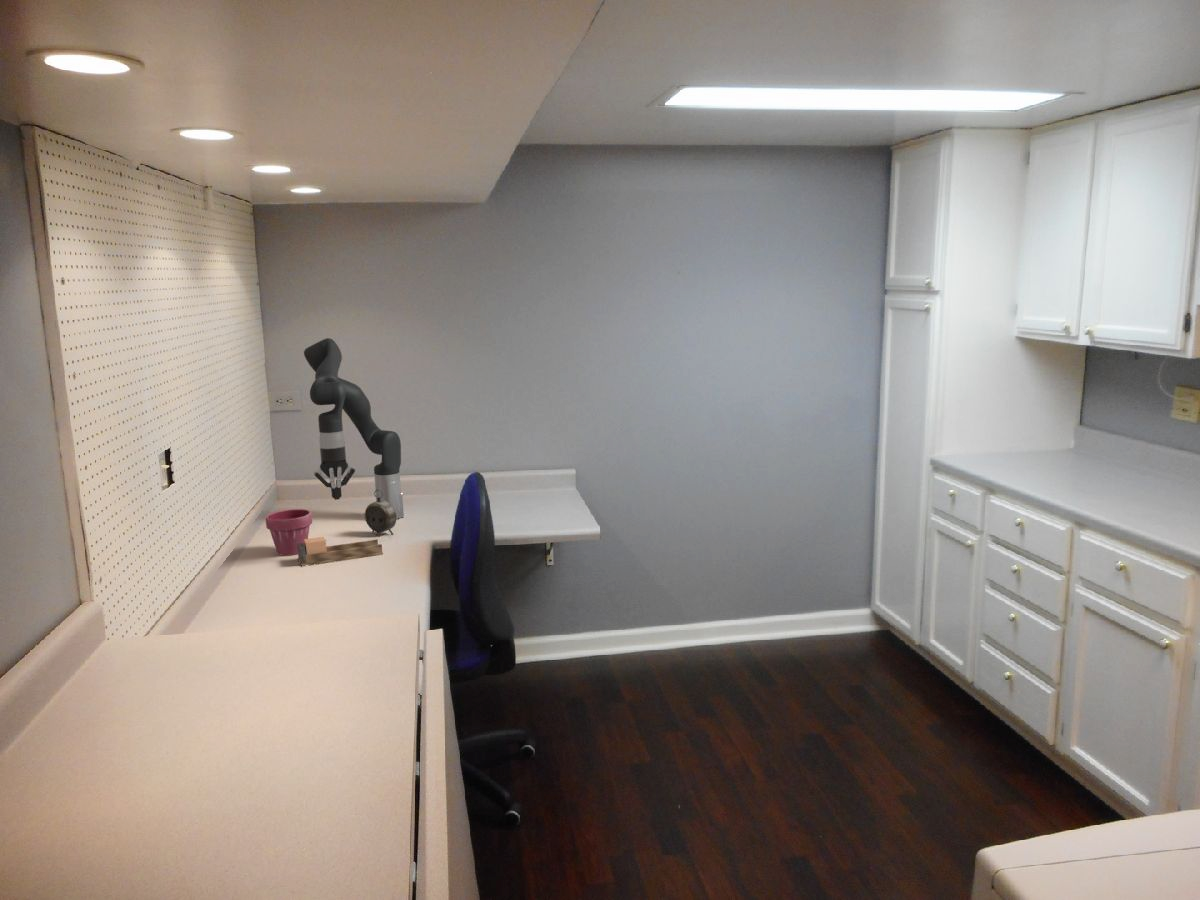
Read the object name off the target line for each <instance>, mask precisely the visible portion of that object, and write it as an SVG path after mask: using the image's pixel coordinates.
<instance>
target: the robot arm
mask: <svg viewBox="0 0 1200 900" xmlns="http://www.w3.org/2000/svg"><path fill="white" fill-rule="evenodd" d="M303 356H304V358H305V360H306V361H307V363H308V365H309V366H310V367H311V369H312V370H313V371H314V373H315V375H314V376H315V377H314V379H315V380H314V381H313V382H312V385H311V387H310V390H309V397H310V400H311V402H312V403H313V404H314V405H317V406H328V405H329V406H331V405H334V407H333V408H332V409H331V410H329V411H324V412H322V413H320V414H319V415H318V419H317V420H318V429H319V431H318V432H319V440H318V441H319V452H320V465H319V469H318V470H316V471H314V472H313V475H314V476H315V478H316V479H318V480H319V481H320V482H321V483H322V485H324V486H325V488H330V490H331V491H330V492H331V497H332V499H334V500H335V501H336V500H340V499H341V498H342V487H343V486H347V484H348V482H350V480H351V478H352V476H353V475H354V474H355V472H356V469H354V468H355V467H351V466H349V463H348V462H347V458H346V457H347V453H346V445H345V444H346V441H345V435H344V431H343V411H344V412H345V414H346V415H347V416H348V418H349V419H350V421H351V422H352V424H354V426H355V428H356V429H357V431H358V433H359V434H360V436H361V438H362V440H363V441H364V444H365V445H366V447H367V448H368V449H369V451H370V452H371V453H373V454H375V455H381V462H380V463H379V464H376V465H375V466H374V467H373V471H374V473H373V474H374V475H373V476H374V487H375V488H374V489H375V491H376V490H377V489H379V490H381V491H382V493H381V491H379V490H377V491H376V492H375V495H376V497H377V498H378V497H380V500H385V501H387V502H389V503H390V504H391V505H392V506H393V508H394V510H395V512H396V520H399V519H401V517H403V518H404V517H405V513H404V498H403V492H402V491H401V490H402V487H401V475H400V474H401V473H400V468H401V465H402V444H401V438H400V436H399V434H398V433H397V432H396V431H392V430H385V429H384V430H383V429H381V428H380V427H379V426H377V424H376V423H375V421H374V419H373V418H372V411H371V409H372V408H371V404H370V400H369V398H368V397H367V395H366V394H365V393H364V391H363V390H362V388H361V387H360V386H358V385H357V384H355V383H353V382H350V381H348V380H346V379H343V378H341V377H339V376H338V375H339V374H338V373H339V369H340V367H341V363H342V360H343V356H342V352H341V349H340V347H339V346H338V344H337V342H335V340H334V339H332V338H330V337H329V338H323V339H322V340H320V341H318V342H317V341H316V343H314V344H311V345H310V346H308V347H306V348H305V349H303ZM345 472H346V474H345V475H344V473H345ZM323 473H324V474H325V476H326V477H328V479H329V482H328V481H327V480H326V479H325V478H324V477H323ZM343 475H344V477H342V476H343ZM342 478H343V479H342ZM382 494H383V495H382ZM381 496H382V497H381ZM376 497H375V502H376V501H378V499H377V498H376ZM398 518H399V519H398Z"/></svg>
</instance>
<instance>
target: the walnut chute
mask: <svg viewBox="0 0 1200 900" xmlns="http://www.w3.org/2000/svg"><path fill="white" fill-rule="evenodd" d="M382 545H383V544H379V541H378V539H372V540H371V539H370V540H365V541H363V540H362V541H356V542H350V543H349V542H348V543H341V544H335V545H329V546H328V545H326V549H327V552H323V553H316V554H310V555H306V552H305V547H304V545H303V543H302V542H301V543H297V546H298V554H297V555H298V557H297V558H298V559H297V560H298V561H299V563H300V565H302V566H303V567H307V566H306V565H309V566H315V565H314V564H316V565H320V563H323V564H329V563H334V562H335V561H336V562H342V560H343V561H347V560H348V561H349V560H355V558H356V559H361V558H362V559H363V558H367V557H375V556H382V555H383V554H384V552H383V546H382ZM302 566H301V567H302Z"/></svg>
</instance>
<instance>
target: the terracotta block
mask: <svg viewBox="0 0 1200 900" xmlns="http://www.w3.org/2000/svg"><path fill="white" fill-rule="evenodd" d="M304 547H305V552H306V555H310V554H316V553H323V552H327V549H326V547H327V541H326V539H325V537H324V536H318V537H311V538H308V539H304Z"/></svg>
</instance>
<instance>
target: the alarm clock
mask: <svg viewBox="0 0 1200 900" xmlns="http://www.w3.org/2000/svg"><path fill="white" fill-rule="evenodd" d="M377 490H379V489H377ZM377 490H375V491H374V492H373V495H374V497H375V499H376V498H377V497H376V491H377ZM379 491H381V490H379ZM381 493H382V491H381ZM382 495H383V494H382ZM381 497H382V496H381ZM377 499H378V501H376V500H375V501H373V502H371V503H369V504H368V505H367V506H366V508H365V511H364V519H365V522H366V524H367V525H368V527H369V528H370V530H371V532H372V533H374V532H375V537H376V536H378V535H379V534H381V533H385V532H387V531H388V532H389V533H390V534H391V535H392V536H393V535H394V533H393V531H392V529H393V528H395V525H396V523H397V519H396V512H395V510H394V508H393V506H392V505H391V504H390V503H389V502H387V501H385V500H380V497H378V498H377Z"/></svg>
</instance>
